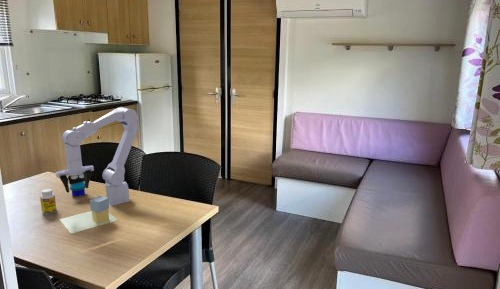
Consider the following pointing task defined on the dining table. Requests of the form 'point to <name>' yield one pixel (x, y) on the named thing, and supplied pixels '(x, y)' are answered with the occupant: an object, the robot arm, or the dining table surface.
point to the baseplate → (83, 222)
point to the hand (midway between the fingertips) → (77, 189)
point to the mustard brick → (100, 216)
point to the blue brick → (99, 204)
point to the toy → (77, 184)
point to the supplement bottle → (48, 201)
